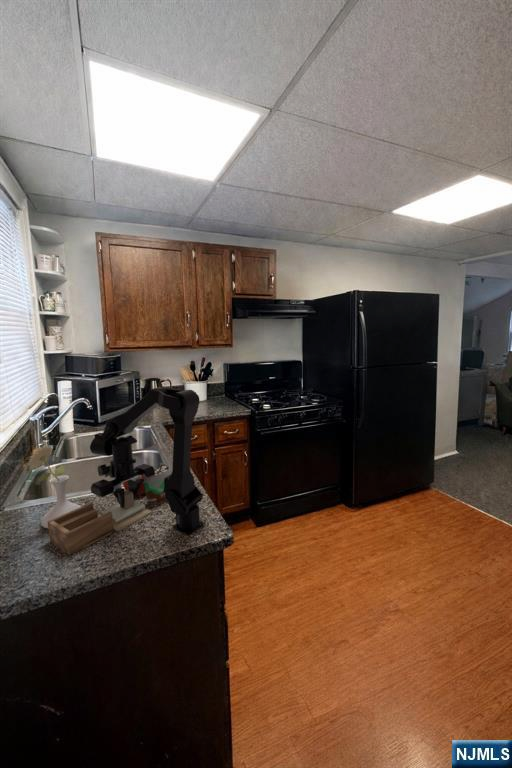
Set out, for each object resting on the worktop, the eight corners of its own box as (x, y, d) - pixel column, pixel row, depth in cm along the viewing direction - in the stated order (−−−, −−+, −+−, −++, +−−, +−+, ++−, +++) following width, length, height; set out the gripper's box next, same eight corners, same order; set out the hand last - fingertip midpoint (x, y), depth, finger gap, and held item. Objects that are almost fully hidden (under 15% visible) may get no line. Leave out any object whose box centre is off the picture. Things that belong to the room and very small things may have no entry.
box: (113, 531, 90) (112, 512, 89) (69, 555, 80) (67, 534, 80) (93, 520, 96) (91, 502, 96) (49, 541, 86) (47, 521, 86)
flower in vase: (72, 508, 104) (64, 434, 101) (93, 517, 98) (85, 439, 95) (27, 529, 93) (17, 446, 90) (48, 540, 87) (37, 452, 84)
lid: (145, 507, 100) (143, 491, 99) (115, 522, 92) (114, 505, 91) (129, 500, 105) (128, 485, 104) (100, 514, 97) (98, 498, 96)
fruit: (140, 484, 121) (138, 459, 120) (157, 489, 116) (155, 463, 115) (118, 495, 113) (115, 468, 111) (135, 501, 108) (133, 473, 107)
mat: (152, 512, 100) (152, 511, 100) (117, 531, 90) (117, 530, 90) (127, 502, 107) (127, 501, 107) (93, 518, 97) (92, 517, 97)
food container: (162, 507, 103) (160, 477, 102) (145, 505, 104) (142, 476, 103) (178, 489, 115) (177, 463, 114) (163, 488, 116) (161, 462, 115)
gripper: (133, 444, 110) (137, 487, 112) (78, 462, 94) (83, 511, 96) (154, 449, 103) (157, 495, 105) (98, 469, 88) (104, 521, 90)
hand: (127, 504), depth 99 cm, fingers closed on lid, 3 cm apart
